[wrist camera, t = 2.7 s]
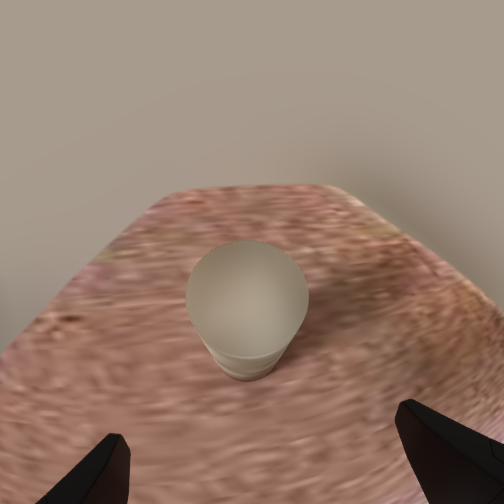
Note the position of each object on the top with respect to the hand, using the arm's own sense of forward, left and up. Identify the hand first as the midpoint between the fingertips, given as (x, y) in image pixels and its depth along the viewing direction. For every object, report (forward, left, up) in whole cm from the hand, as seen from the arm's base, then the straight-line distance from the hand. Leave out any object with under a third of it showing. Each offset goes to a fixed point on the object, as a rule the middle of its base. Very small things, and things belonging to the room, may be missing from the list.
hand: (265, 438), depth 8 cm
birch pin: (0, -5, -11) cm, 13 cm away
